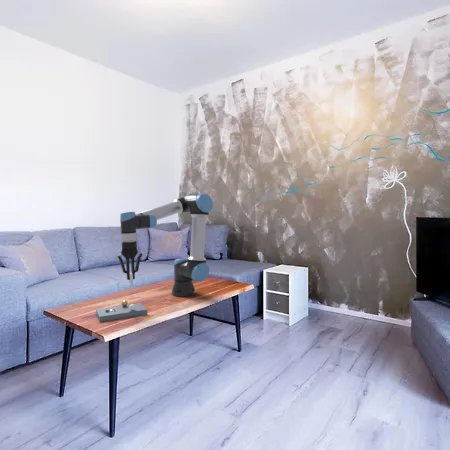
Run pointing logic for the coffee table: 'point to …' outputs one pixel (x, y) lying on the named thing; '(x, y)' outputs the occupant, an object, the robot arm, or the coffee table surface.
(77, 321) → the coffee table surface
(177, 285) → the robot arm
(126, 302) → the brass ball
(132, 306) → the white ball
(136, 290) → the coffee table surface
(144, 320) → the coffee table surface
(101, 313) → the board
